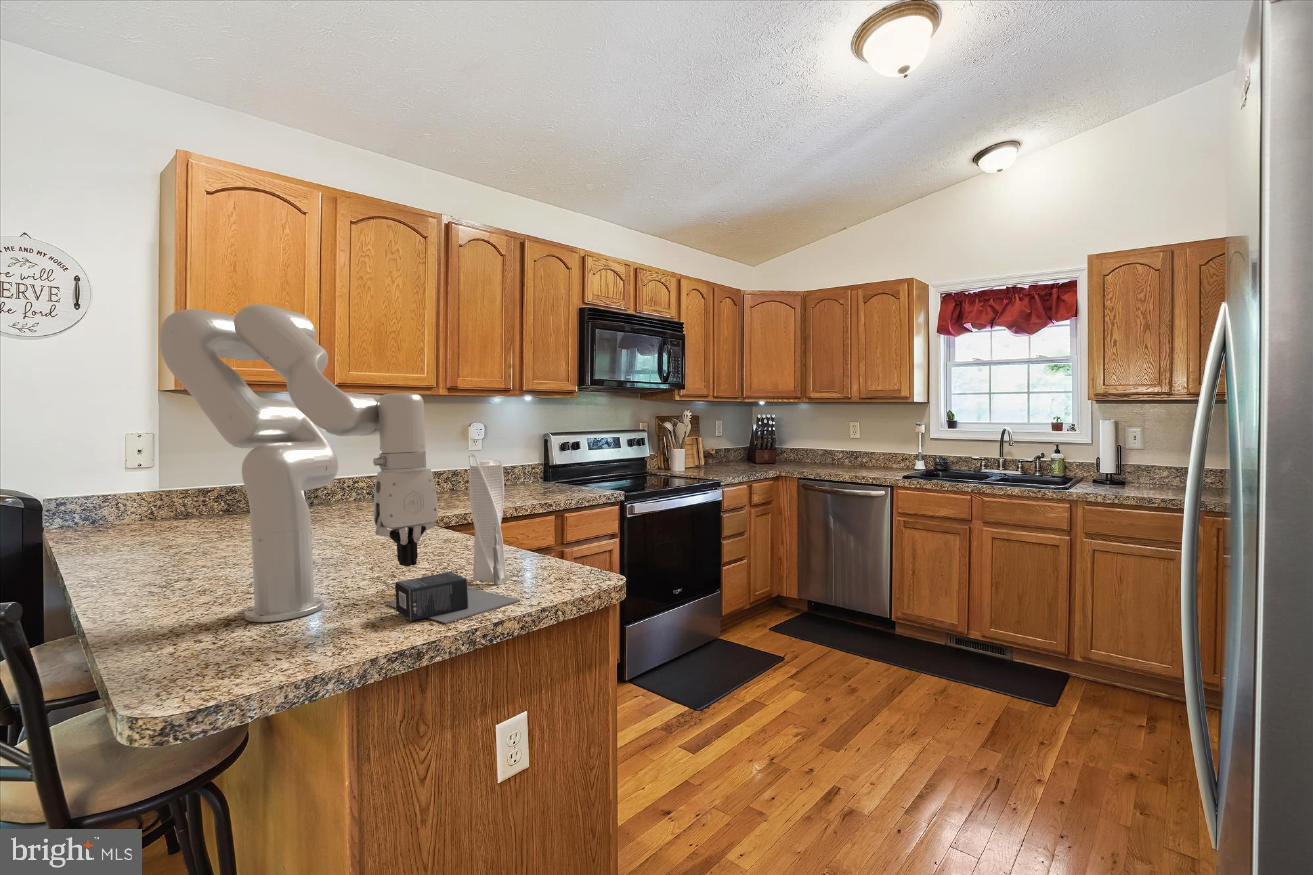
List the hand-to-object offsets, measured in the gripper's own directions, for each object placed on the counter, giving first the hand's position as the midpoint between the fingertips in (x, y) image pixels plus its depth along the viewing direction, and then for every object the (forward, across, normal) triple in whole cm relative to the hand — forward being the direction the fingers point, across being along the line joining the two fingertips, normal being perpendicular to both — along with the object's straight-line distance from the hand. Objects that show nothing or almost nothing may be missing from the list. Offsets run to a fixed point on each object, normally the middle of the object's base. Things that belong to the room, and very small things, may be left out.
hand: (407, 564), depth 110 cm
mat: (+9, +9, 0) cm, 13 cm away
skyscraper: (+10, +24, +9) cm, 27 cm away
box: (+6, -2, 0) cm, 6 cm away
